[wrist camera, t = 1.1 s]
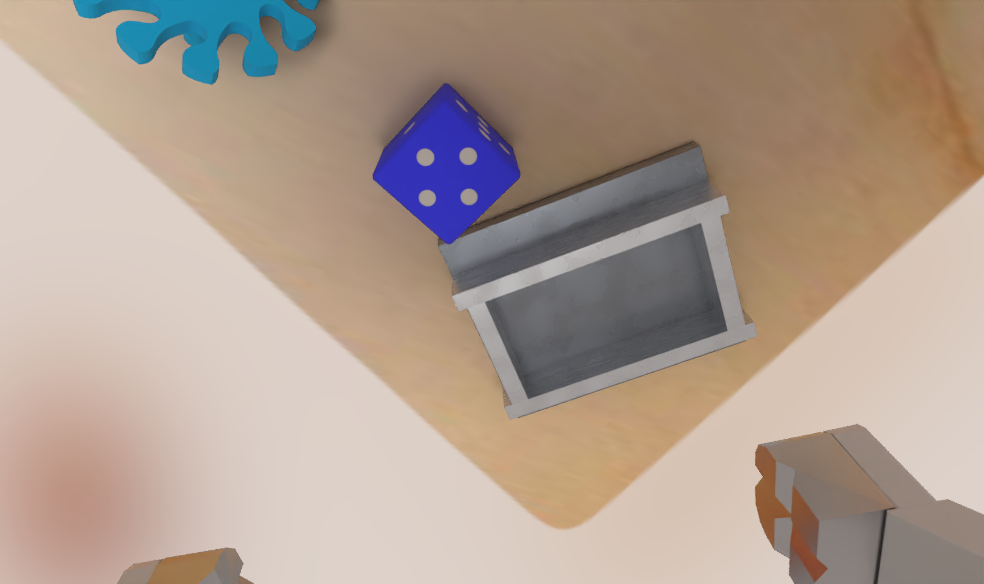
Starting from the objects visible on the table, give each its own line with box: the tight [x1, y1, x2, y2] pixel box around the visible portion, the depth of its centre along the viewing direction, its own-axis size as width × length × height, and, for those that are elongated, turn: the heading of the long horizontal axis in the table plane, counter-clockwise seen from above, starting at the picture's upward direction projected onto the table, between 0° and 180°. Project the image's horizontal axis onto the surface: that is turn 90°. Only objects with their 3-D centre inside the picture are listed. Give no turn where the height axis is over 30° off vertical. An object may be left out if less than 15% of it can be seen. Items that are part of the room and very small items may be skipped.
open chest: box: [438, 142, 757, 420], centre depth 36 cm, size 15×13×4 cm
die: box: [373, 84, 520, 244], centre depth 32 cm, size 5×5×5 cm
